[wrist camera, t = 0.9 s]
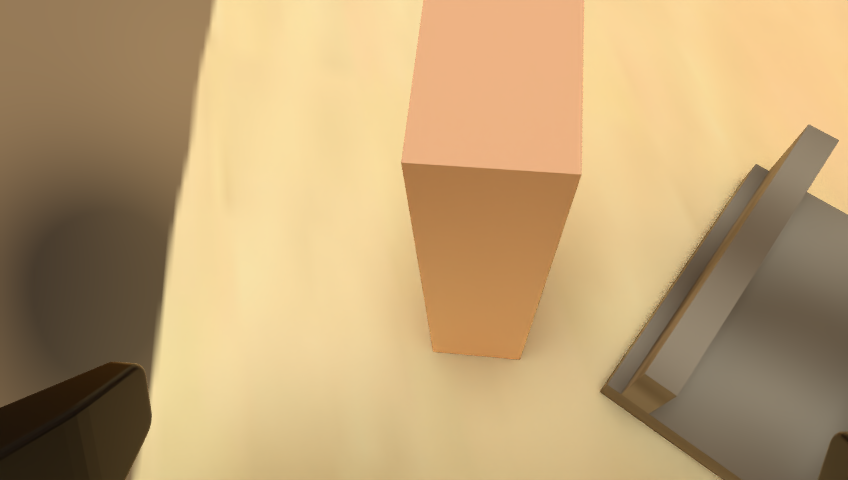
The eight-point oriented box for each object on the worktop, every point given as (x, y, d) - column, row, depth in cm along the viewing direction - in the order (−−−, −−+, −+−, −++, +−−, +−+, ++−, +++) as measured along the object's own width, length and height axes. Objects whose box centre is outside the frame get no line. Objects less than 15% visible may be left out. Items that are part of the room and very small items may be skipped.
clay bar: (519, 359, 23) (581, 174, 11) (433, 351, 23) (401, 162, 11) (525, 240, 25) (584, -32, 13) (445, 233, 25) (428, -38, 13)
